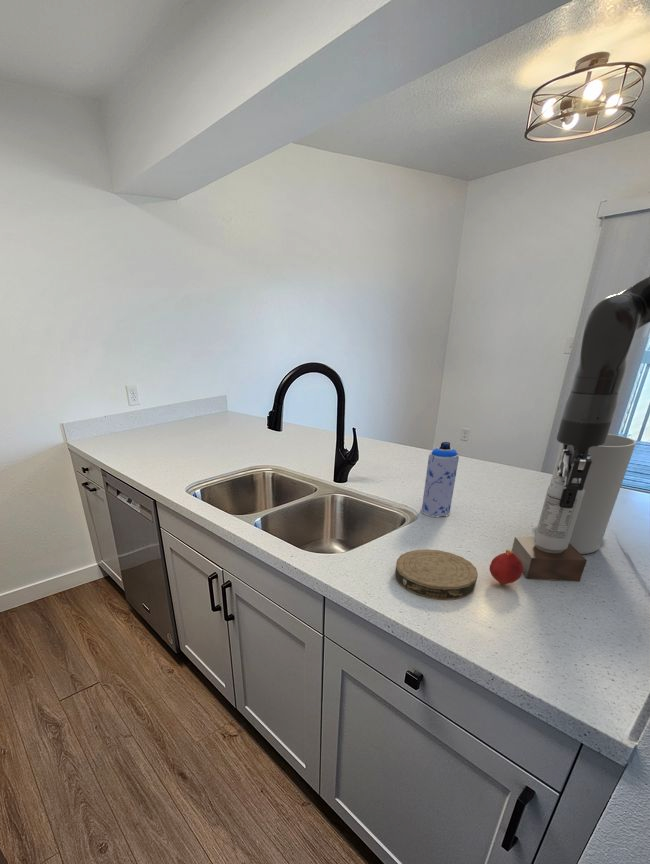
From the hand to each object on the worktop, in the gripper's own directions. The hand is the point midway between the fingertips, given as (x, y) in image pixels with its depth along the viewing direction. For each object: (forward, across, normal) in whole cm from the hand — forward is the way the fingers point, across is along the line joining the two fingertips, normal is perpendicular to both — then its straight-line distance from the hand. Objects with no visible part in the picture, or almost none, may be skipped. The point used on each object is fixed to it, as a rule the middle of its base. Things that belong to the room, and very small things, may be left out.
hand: (562, 500), depth 88 cm
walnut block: (+16, 0, 0) cm, 16 cm away
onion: (+16, -10, +8) cm, 20 cm away
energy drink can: (+11, 0, 0) cm, 11 cm away
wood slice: (+16, -13, +21) cm, 29 cm away
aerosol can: (+16, +25, +24) cm, 38 cm away
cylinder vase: (+16, +15, -6) cm, 23 cm away
